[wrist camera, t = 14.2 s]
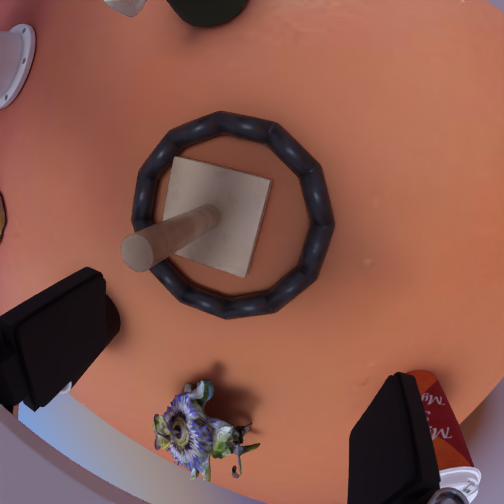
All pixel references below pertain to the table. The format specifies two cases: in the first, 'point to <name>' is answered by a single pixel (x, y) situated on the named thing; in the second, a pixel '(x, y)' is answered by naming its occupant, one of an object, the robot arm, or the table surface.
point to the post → (204, 219)
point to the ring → (312, 192)
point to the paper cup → (447, 438)
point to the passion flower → (198, 432)
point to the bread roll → (1, 216)
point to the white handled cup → (187, 9)
